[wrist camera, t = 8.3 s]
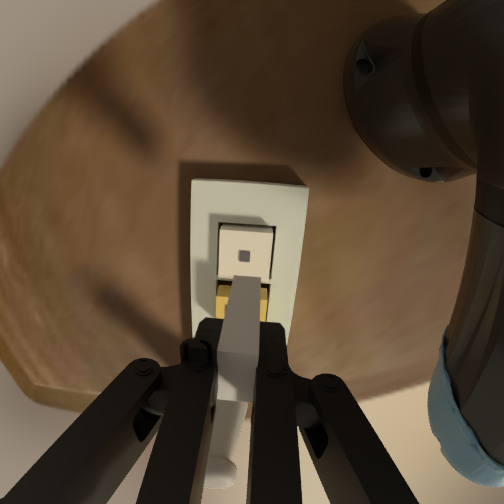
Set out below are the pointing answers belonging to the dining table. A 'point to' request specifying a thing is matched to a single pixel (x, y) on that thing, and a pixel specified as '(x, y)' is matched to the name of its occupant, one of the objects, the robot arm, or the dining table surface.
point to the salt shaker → (224, 443)
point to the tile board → (246, 212)
